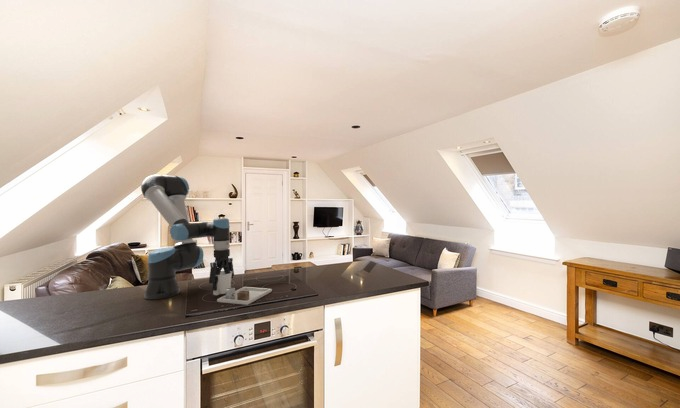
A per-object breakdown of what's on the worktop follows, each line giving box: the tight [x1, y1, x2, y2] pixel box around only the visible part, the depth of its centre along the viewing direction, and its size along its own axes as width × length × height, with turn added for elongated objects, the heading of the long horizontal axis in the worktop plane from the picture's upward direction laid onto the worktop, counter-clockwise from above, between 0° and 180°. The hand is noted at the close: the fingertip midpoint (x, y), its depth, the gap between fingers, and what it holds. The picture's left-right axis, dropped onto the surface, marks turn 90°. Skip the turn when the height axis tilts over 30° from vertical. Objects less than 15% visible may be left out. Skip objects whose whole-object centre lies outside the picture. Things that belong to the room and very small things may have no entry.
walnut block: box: [237, 291, 249, 301], centre depth 129 cm, size 4×4×4 cm
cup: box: [216, 270, 233, 295], centre depth 143 cm, size 10×10×11 cm
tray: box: [216, 286, 273, 306], centre depth 135 cm, size 16×20×2 cm
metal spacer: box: [225, 287, 236, 300], centre depth 131 cm, size 4×4×5 cm
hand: (222, 293), depth 143 cm, fingers closed on cup, 8 cm apart
